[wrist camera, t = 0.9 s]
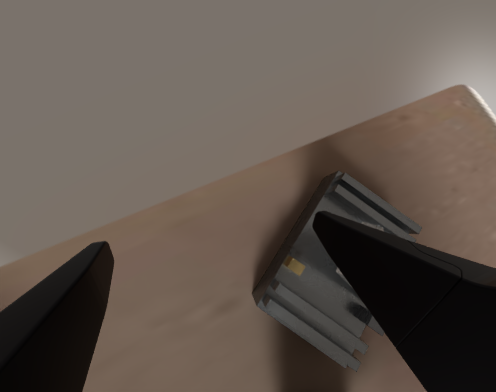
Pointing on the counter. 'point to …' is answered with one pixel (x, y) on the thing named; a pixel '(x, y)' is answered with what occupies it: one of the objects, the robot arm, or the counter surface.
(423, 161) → the counter surface
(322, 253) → the heat sink
